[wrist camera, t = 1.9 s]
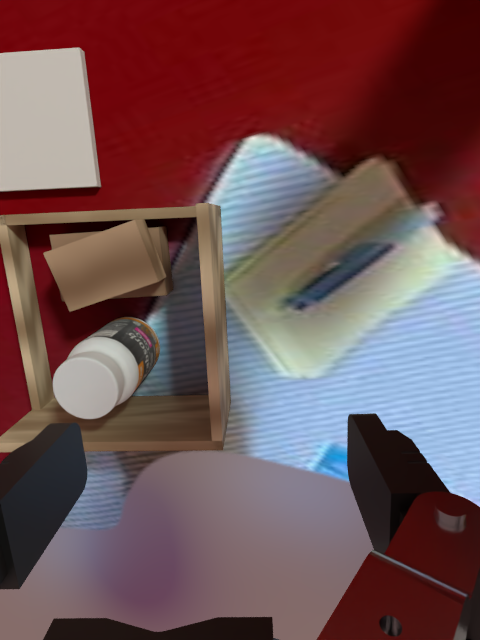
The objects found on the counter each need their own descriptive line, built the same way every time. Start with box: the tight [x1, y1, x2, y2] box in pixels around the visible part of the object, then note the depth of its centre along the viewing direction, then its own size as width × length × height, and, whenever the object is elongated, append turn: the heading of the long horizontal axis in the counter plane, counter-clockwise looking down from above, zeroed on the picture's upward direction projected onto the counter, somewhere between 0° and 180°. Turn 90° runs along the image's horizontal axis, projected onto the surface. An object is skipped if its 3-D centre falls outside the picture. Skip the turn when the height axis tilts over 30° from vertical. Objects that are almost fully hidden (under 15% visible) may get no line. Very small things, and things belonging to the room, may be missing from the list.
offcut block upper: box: [43, 219, 166, 312], centre depth 31 cm, size 5×8×2 cm, turn 109°
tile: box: [0, 48, 101, 192], centre depth 32 cm, size 10×10×1 cm
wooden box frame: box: [0, 203, 231, 452], centre depth 32 cm, size 18×18×8 cm
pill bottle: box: [53, 317, 160, 419], centre depth 32 cm, size 6×6×10 cm
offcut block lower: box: [49, 227, 173, 302], centre depth 34 cm, size 6×9×3 cm, turn 94°
